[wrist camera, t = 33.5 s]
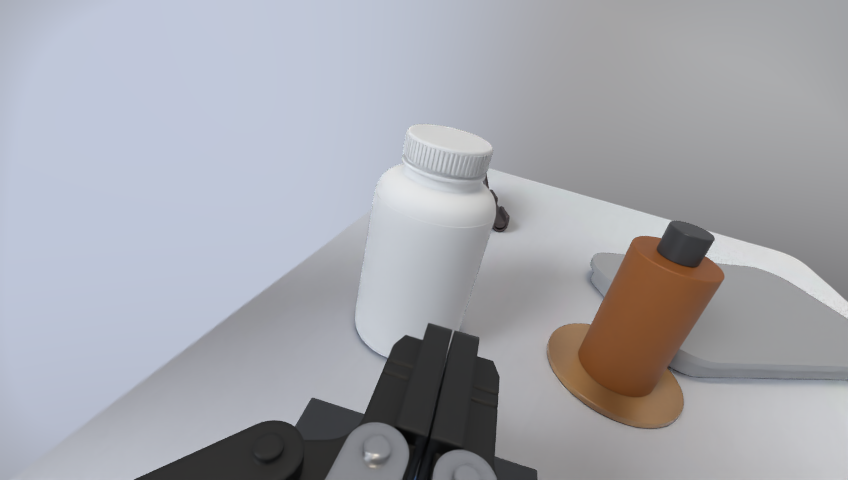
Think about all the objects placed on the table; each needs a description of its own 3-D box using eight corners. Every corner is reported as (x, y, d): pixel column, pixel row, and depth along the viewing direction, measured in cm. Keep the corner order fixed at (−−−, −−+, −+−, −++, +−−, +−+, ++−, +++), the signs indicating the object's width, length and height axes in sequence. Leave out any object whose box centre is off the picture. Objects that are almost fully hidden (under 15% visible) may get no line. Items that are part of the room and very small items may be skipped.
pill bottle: (440, 384, 27) (503, 170, 20) (333, 340, 29) (358, 128, 22) (467, 317, 34) (522, 141, 27) (380, 285, 36) (410, 110, 29)
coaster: (550, 401, 28) (553, 396, 28) (543, 315, 37) (545, 310, 36) (702, 448, 27) (706, 443, 27) (657, 347, 36) (660, 343, 35)
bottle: (582, 383, 29) (659, 236, 24) (574, 334, 34) (636, 203, 29) (662, 407, 29) (761, 263, 23) (642, 354, 34) (719, 224, 28)
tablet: (573, 267, 46) (581, 250, 45) (757, 283, 52) (767, 268, 51) (671, 383, 32) (686, 362, 31) (907, 386, 38) (926, 368, 37)
